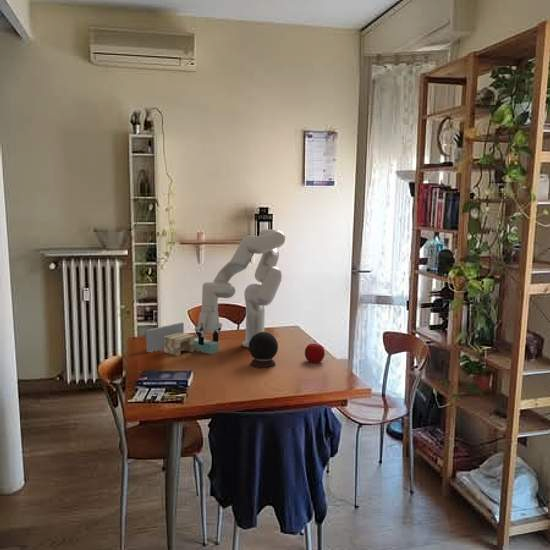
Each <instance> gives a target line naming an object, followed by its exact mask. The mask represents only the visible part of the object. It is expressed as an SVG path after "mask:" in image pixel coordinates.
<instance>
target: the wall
mask: <svg viewBox="0 0 550 550" xmlns="http://www.w3.org/2000/svg"><path fill="white" fill-rule="evenodd" d="M184 324H185V323H184V322H177V323H174V324H168V325H164V326H163V325H162V326H159V327H154V328H150V329H146V330H145V332H146V333H145V336H146V337H145V340H146V342H145V343H146V346H145V347H146V351H145V352H146V353H147V352H151V353H154V352H153V351H155V352H158V350H159V351H162V349H163V350H164V336H168V335H173V334H177V333H181V332H182V333H185V332H184V329H185V328H184V327H185V326H184Z"/></svg>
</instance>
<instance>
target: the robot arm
mask: <svg viewBox="0 0 550 550" xmlns="http://www.w3.org/2000/svg"><path fill="white" fill-rule="evenodd" d="M285 242H286V236H285V234H284V232H283V231H281V230H278V229H270V228H267V229H262V230H260V232H259V234H258V235H245V236H244V237H243V238H242V239H241V241H240V243H239V245H238V246H237V248H236V249H235V252H234V254H233V256H232V257H231V259H230V261H228V262H227V263H226V264H225V265H224V266H223V267H222V268H221V269H220V270H219V271H218V273H217V274H216V276H215V278H214V280H213V281H212V282H203V284H202V289H201V290H202V293H201V296H202V297H201V311H200V313H199V316H198V322H197V323H198V324H197V326H196V327H195V328H194V331H195V334H196V335H197V338H198V344H199V345H204V339H205V337H204V335H205V334H206V333H212V332H213V333H212V341H213V342H217V343H219V335H220V332H221V330H222V327H223V323H221V322H220V320H219V318H220V317H219V311H218V308H219V304H218V303H219V300H218V299H219V298H221V299H231V298H232V297H234V295H235V294H236V287H235V285H233V284H232V283H230V281H231V279H232V278H233V277H234V276H235V275H236V274H238V273H241V272H243V271H245V270H246V269H247V268H248V266H249V263H250V262H251V260H252V258H253V257H254V254H256V255H261V256H260V259H259V262H258V264H257V267H256V270H255V271H254V279H255V280H256V281H257V282H259V283H261V284H258V283H251V284H249V285H247V286H246V287H245V289H244V301H245V302H244V304H245V340H244V341H242V346H243V347H244V348H248V349H249V342H250V340H251V338H252V337H253V336H254V335H255V334H257V333H259V332H265V320H266V319H265V317H266V316H265V315H266V314H265V313H266V311H265V307H266V306H269V305H270V304H271V303H272V302H273V300H274V299H275V297H276V294H277V292H278V289H279V287H280V285H281V282H282V276H283V275H282V271H281V270H280V269H279V267H277V264H278V262H279V261H278V260H279V258H280V251H279V248H281V247H282V246H283V245H284V244H285Z"/></svg>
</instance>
